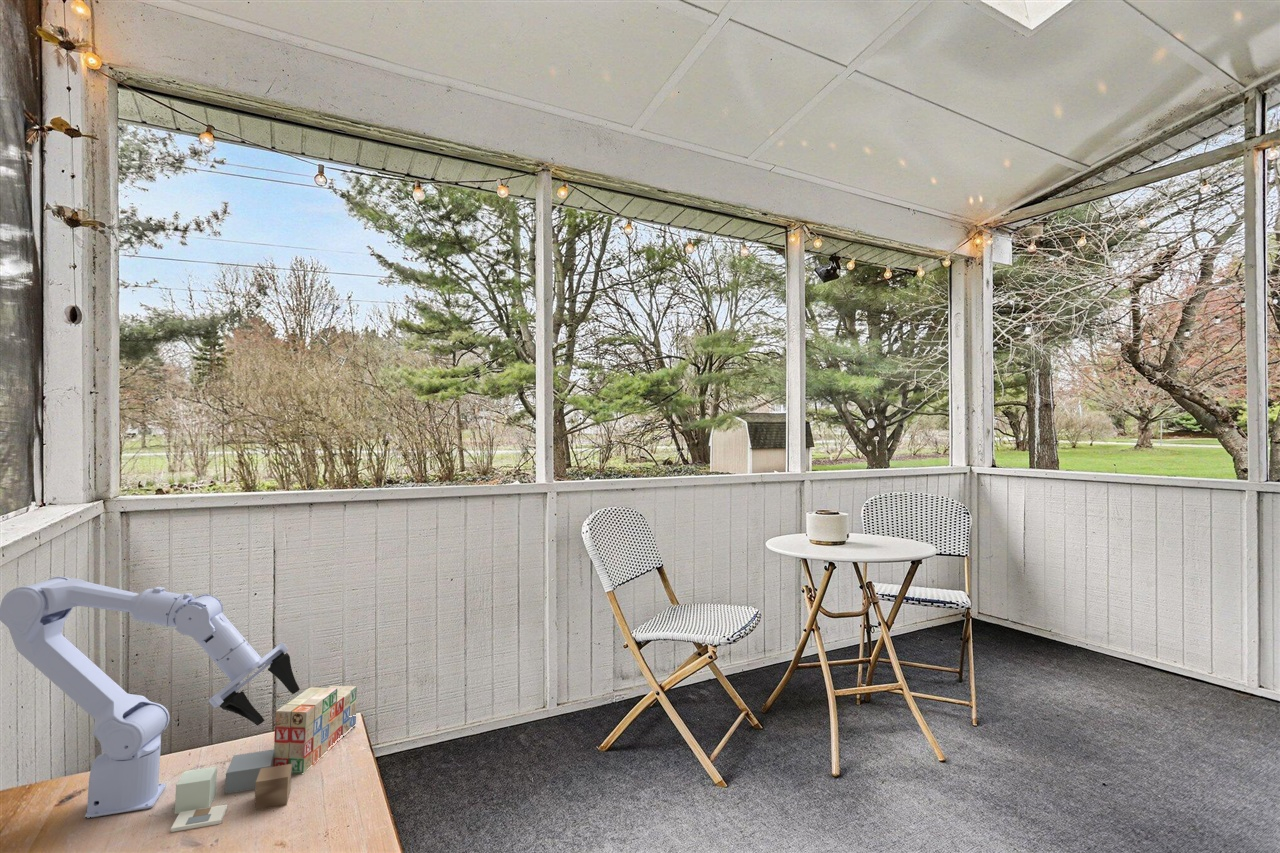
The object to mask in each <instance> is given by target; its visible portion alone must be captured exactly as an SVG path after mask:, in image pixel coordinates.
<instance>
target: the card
mask: <svg viewBox="0 0 1280 853" xmlns="http://www.w3.org/2000/svg"><path fill="white" fill-rule="evenodd" d="M227 811H228V804H227V803H226V804H219V805H216V806H210V807H208V808H202V809H196V810H190V811H184V812H180V813H178V815H177V817H176V818H175V820H174V822H173V824H172V825H171V828H170V833H175V832H180V831H186V830H192V829H198V828H203V827H209V826H214V825H220V824H222V822H223V819H224V817H225V815H226V812H227Z"/></svg>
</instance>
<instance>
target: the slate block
mask: <svg viewBox="0 0 1280 853" xmlns="http://www.w3.org/2000/svg"><path fill="white" fill-rule="evenodd" d="M273 761H274V749H270V750H269V749H268V750H262V751H255V752H249V753H247V752H246V753H241V754H233V756H232V758H231V761H230V763H229V765H228V768H227V770H226V772H225V783H224V784H225V785H224V786H225V788H224V790H225V791H224V794H225V795H226V794H232V793H237V792H244V791H249V790H250V791H251V790H255V785H256V780H257V777H258V775H259V772H260V769H261V768H267V767H273Z"/></svg>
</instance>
